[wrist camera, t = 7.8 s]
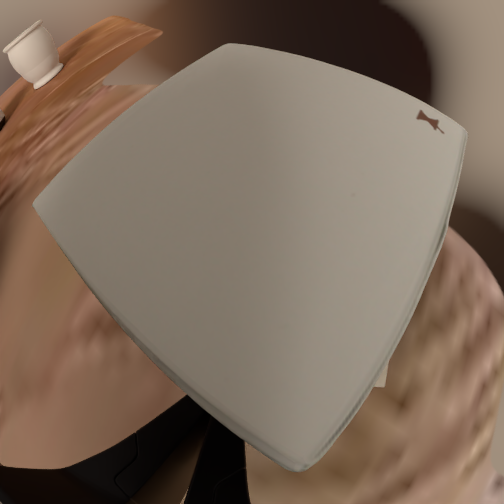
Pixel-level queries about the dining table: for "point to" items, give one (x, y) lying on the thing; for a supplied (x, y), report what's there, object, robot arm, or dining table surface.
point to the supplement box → (263, 235)
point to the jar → (34, 55)
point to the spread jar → (2, 119)
